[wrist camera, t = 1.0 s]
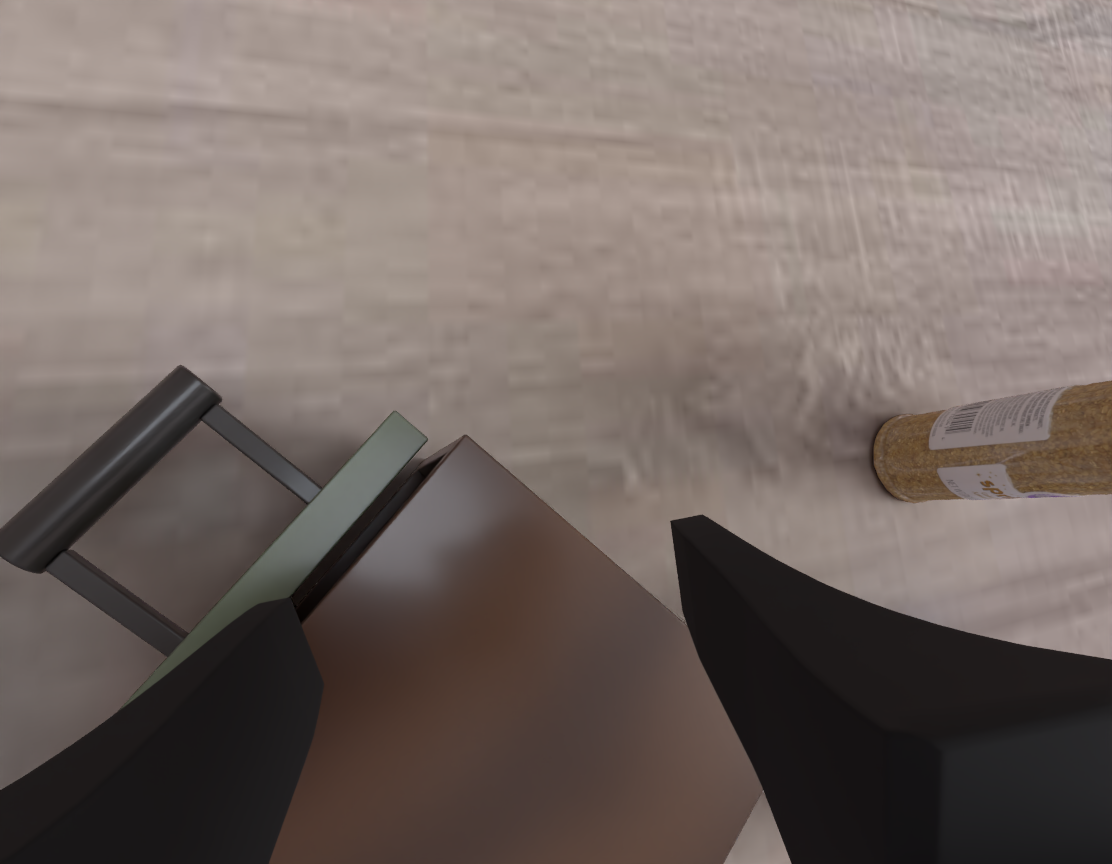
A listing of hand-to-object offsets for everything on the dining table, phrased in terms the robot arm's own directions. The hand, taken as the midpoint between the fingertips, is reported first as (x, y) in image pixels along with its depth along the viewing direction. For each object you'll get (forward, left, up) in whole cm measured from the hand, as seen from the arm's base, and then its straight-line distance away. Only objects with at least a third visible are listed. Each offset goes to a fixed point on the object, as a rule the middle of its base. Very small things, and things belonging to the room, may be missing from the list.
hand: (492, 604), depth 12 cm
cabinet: (-1, -5, -13) cm, 14 cm away
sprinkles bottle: (+23, -9, -13) cm, 28 cm away
